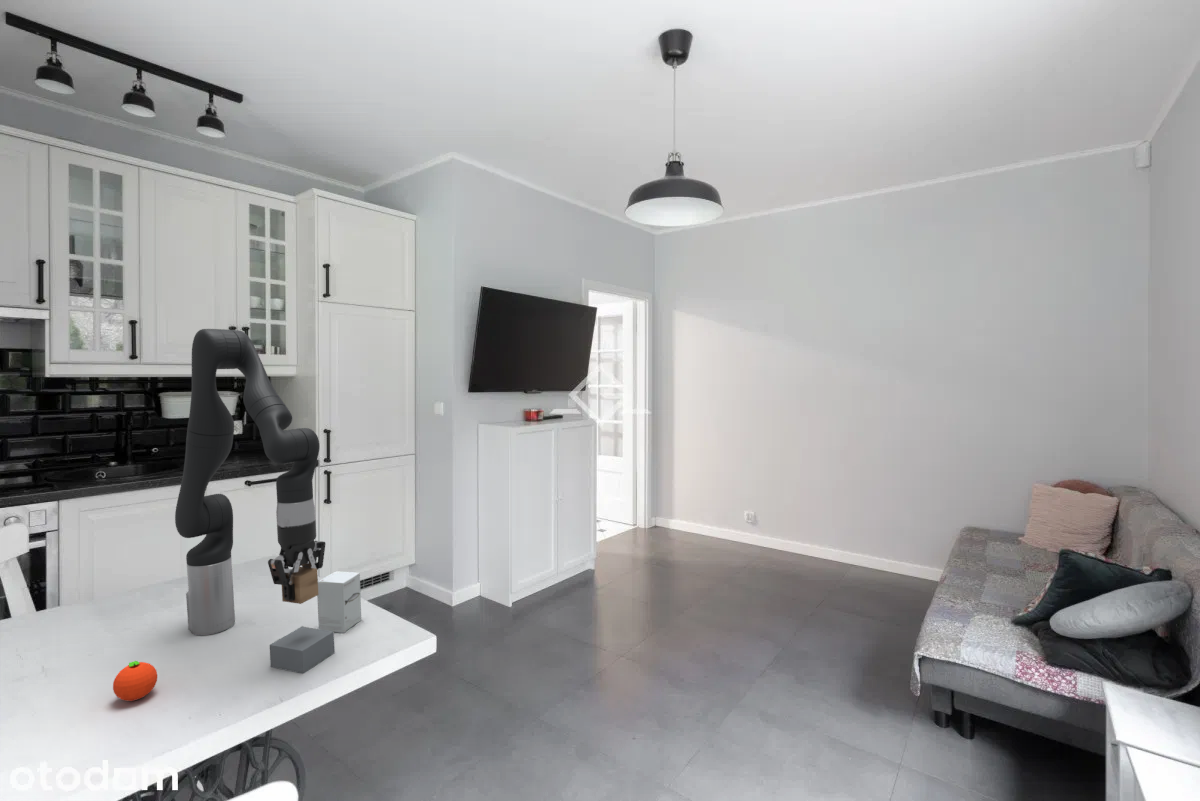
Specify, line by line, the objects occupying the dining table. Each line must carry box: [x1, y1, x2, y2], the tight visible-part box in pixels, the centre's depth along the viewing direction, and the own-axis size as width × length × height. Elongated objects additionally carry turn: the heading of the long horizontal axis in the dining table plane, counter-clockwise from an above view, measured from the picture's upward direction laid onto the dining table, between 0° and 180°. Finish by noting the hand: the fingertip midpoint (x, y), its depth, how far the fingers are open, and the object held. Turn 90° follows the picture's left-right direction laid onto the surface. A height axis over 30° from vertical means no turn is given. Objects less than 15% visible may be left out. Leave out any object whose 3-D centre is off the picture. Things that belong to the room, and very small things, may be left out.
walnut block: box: [281, 566, 319, 605], centre depth 128 cm, size 5×5×6 cm
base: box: [269, 625, 336, 674], centre depth 129 cm, size 9×9×5 cm
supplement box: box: [316, 570, 362, 634], centre depth 145 cm, size 7×7×13 cm
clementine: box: [112, 660, 158, 702], centre depth 115 cm, size 8×7×7 cm
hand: (300, 594), depth 128 cm, fingers closed on walnut block, 5 cm apart
